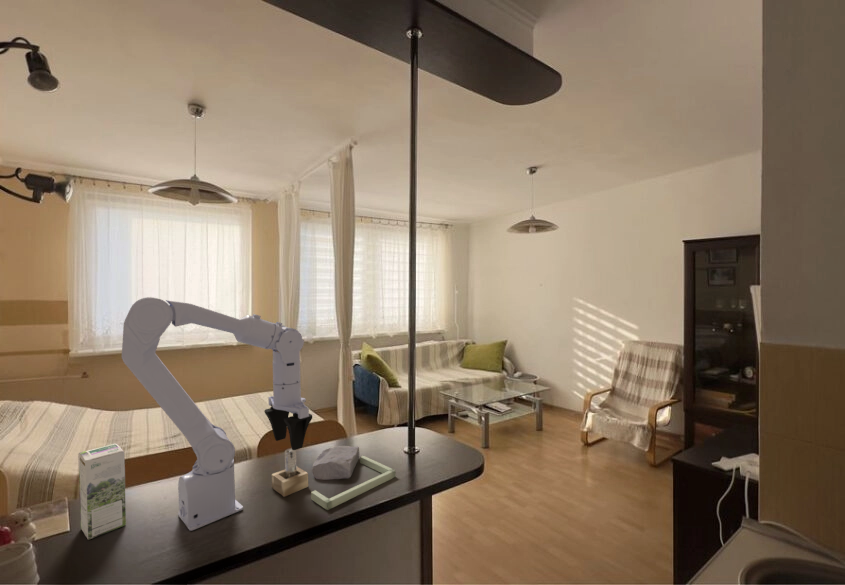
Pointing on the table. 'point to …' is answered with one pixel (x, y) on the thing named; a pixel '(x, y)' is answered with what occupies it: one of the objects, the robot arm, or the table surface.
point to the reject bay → (359, 489)
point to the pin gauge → (290, 463)
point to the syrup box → (102, 490)
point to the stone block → (336, 463)
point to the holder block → (289, 482)
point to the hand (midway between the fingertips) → (288, 443)
